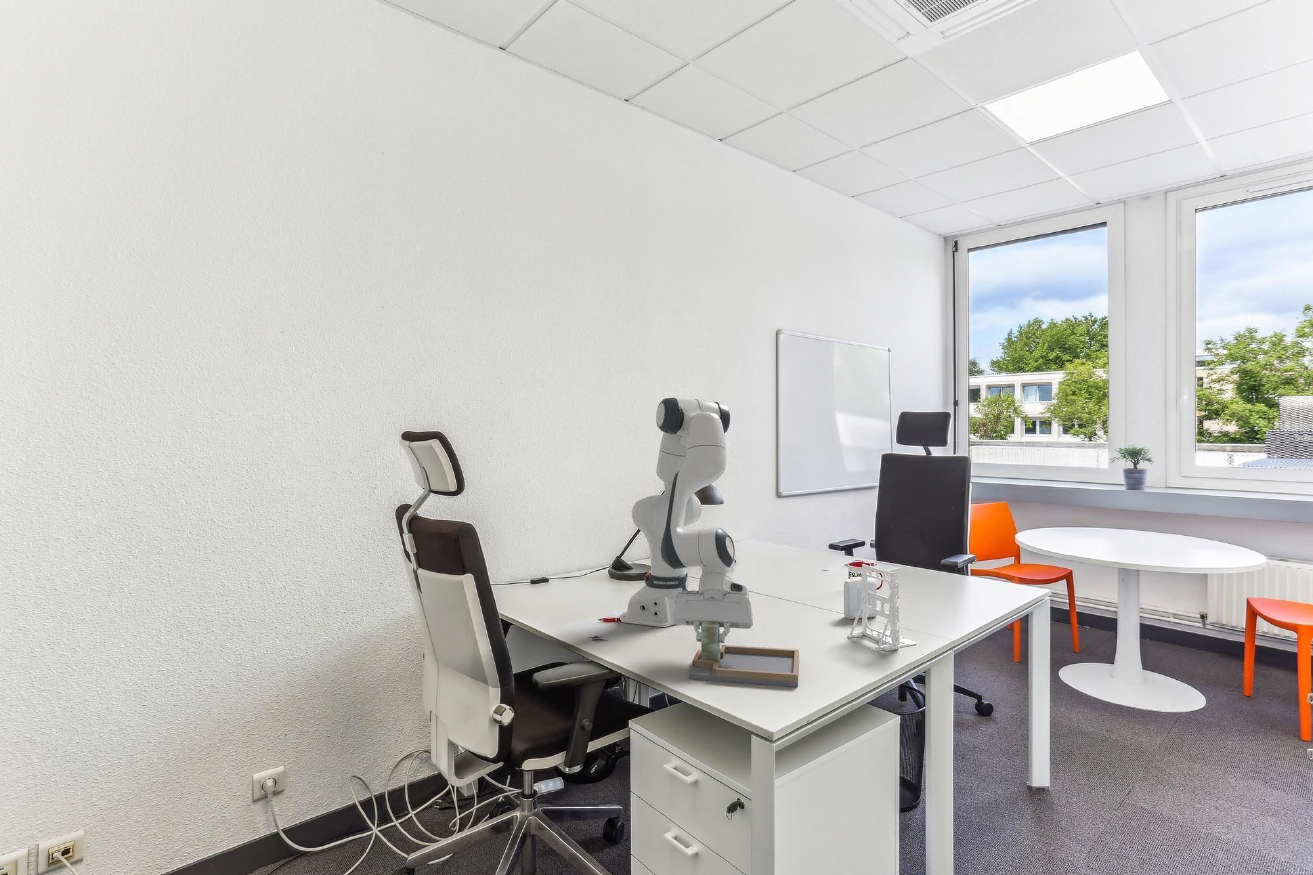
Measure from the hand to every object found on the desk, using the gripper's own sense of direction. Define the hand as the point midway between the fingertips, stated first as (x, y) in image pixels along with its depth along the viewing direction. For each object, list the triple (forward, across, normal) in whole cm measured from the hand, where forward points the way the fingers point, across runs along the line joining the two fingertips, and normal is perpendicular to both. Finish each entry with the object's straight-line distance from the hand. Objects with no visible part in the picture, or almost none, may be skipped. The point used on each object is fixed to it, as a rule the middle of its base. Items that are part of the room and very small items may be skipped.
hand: (710, 641), depth 155 cm
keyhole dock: (+4, +9, +5) cm, 11 cm away
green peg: (+3, 0, +4) cm, 5 cm away
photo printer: (-31, +39, +40) cm, 64 cm away
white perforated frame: (-15, +43, +25) cm, 52 cm away
